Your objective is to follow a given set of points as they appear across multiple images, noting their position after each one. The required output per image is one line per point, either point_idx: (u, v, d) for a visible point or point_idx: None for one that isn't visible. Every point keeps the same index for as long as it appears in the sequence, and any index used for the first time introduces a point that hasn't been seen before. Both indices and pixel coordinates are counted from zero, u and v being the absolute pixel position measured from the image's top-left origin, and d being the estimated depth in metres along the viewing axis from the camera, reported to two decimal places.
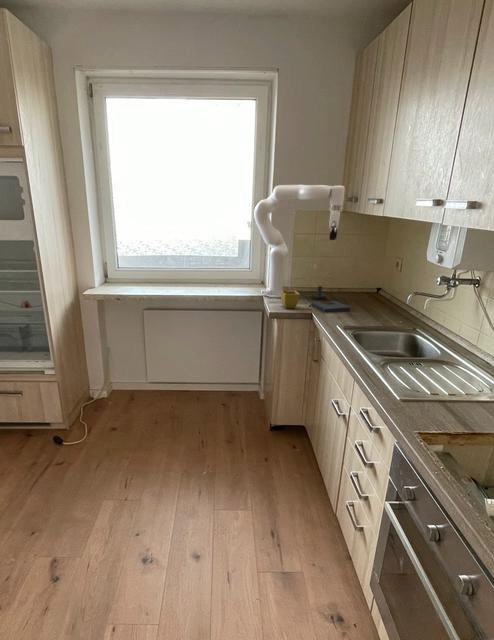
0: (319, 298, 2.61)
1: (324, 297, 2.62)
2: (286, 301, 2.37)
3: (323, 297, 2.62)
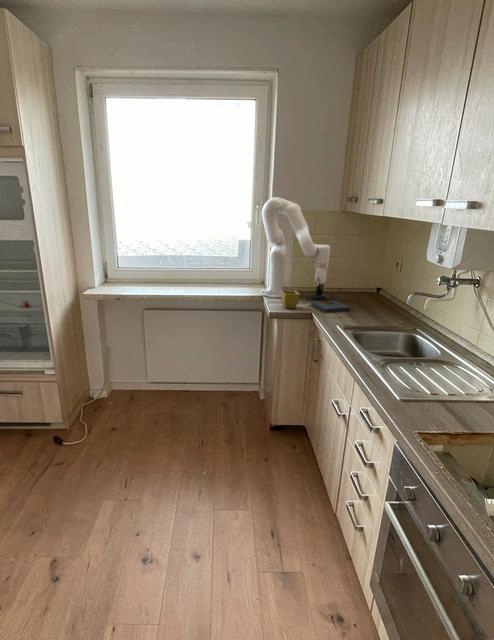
0: (319, 298, 2.61)
1: (324, 297, 2.62)
2: (286, 301, 2.37)
3: (323, 297, 2.62)
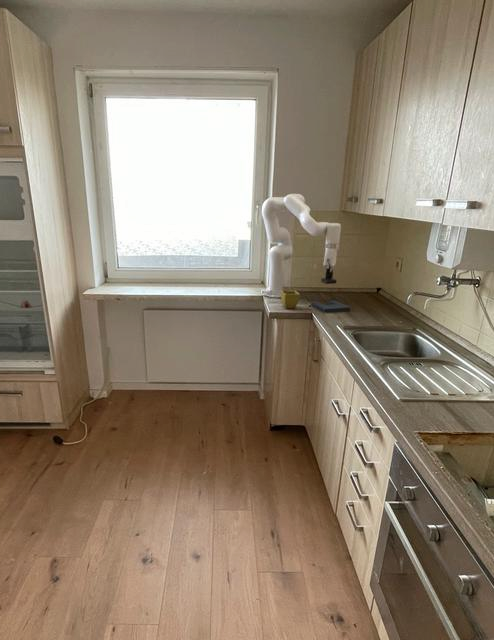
0: (329, 282, 2.40)
1: (334, 281, 2.41)
2: (286, 301, 2.37)
3: (333, 281, 2.40)
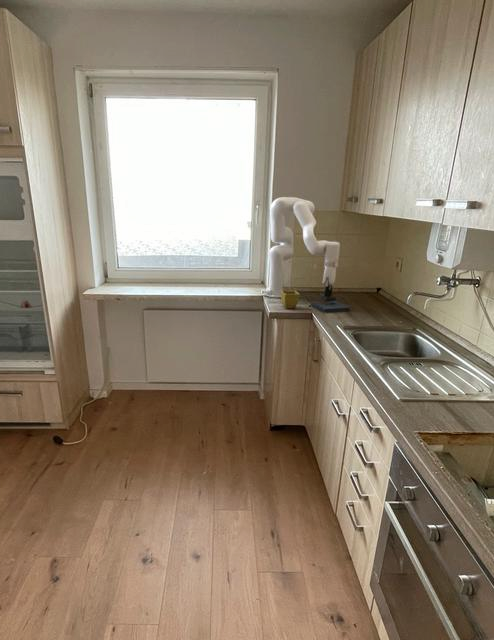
0: (328, 299, 2.42)
1: (333, 298, 2.42)
2: (286, 301, 2.37)
3: (333, 298, 2.42)
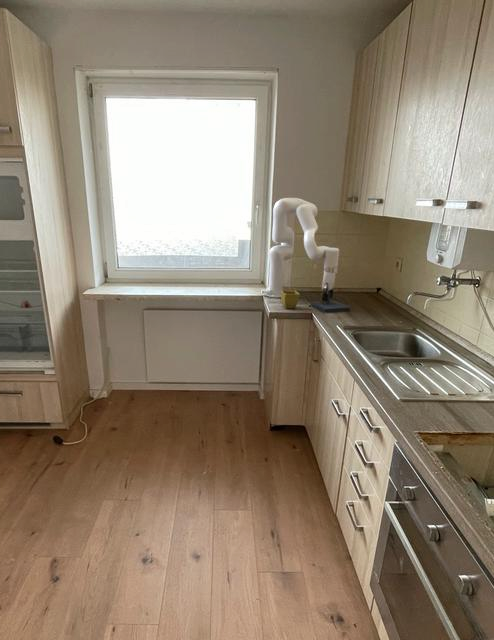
0: None
1: None
2: (286, 301, 2.37)
3: None
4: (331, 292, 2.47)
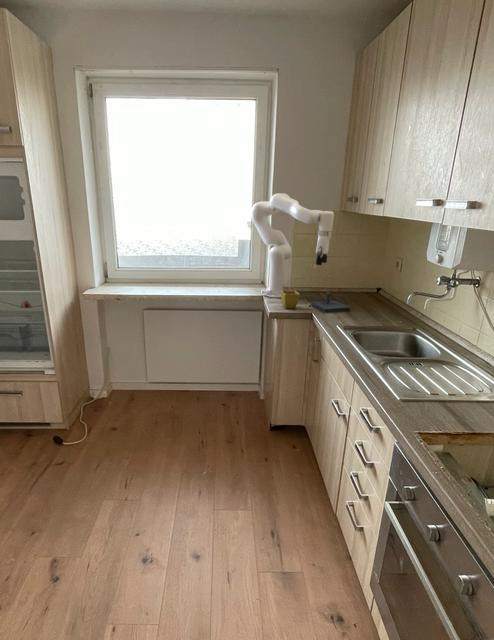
0: None
1: None
2: (286, 301, 2.37)
3: None
4: (325, 257, 2.48)
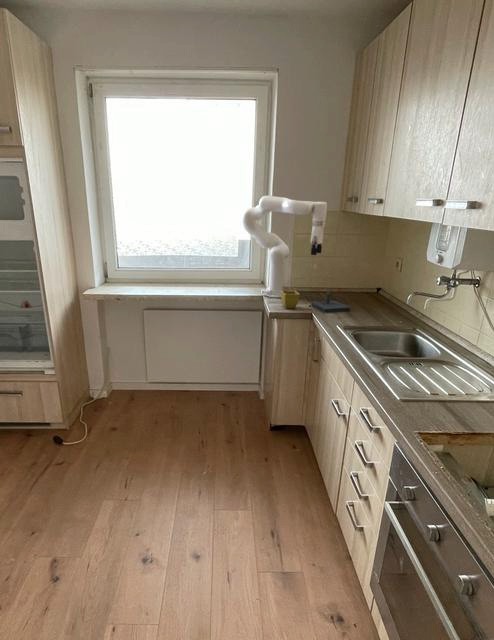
0: None
1: None
2: (286, 301, 2.37)
3: None
4: (320, 247, 2.53)
